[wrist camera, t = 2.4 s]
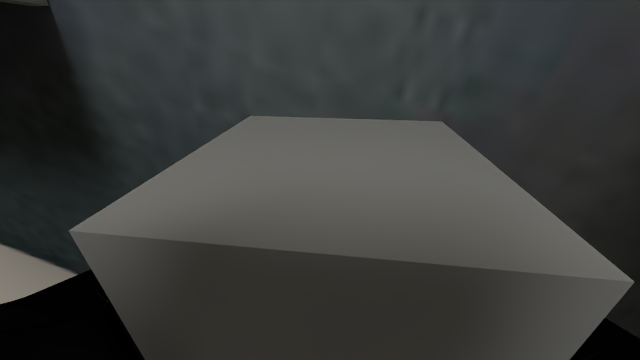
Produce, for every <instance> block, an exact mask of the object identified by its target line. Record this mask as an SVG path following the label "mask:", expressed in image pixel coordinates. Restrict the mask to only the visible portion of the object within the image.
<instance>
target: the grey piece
mask: <svg viewBox="0 0 640 360" xmlns="http://www.w3.org/2000/svg"><path fill="white" fill-rule="evenodd" d="M0 2H6V3H14V4H21V5H29V6H49V4H48V2H47V0H0Z"/></svg>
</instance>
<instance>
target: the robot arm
mask: <svg viewBox="0 0 640 360" xmlns="http://www.w3.org/2000/svg"><path fill="white" fill-rule="evenodd" d="M0 360H145V359H144V357H143V356H142V354H141V352H140V350H139V349H138V347H137V345H136V344H135V342H134V340H133V339H132V337H131V335H130V334H129V332H128V330H127V329H126V327H125V325H124V323H123V322H122V320H121V318H120V317H119V315H118V313H117V312H116V310H115V308H114V307H113V305H112V303H111V301H110V300H109V298H108V296H107V295H106V293H105V291H104V290H103V288H102V286H101V285H100V283H99V281H98V280H97V278H96V276H95V274H94V273H93V271H92V269H91V270H88V271H86V272H84V273H81V274H79V275H76V276H74V277H72V278H69V279H67V280H65V281H63V282H60V283H58V284H55V285H53V286H51V287H48V288H46V289H44V290H41V291H39V292H36V293H34V294H32V295H29V296H27V297H24V298H21V299H18V300H14V301H11V302H7V303H3V304H0ZM570 360H640V339H639V338H638V337H636V336H634V335H633V334H631V333H629V332H628V331H626V330H624V329H623V328H621V327H619V326H618V325H616V324H614V323H613V322H611V321H609V320H608V319H606V318H604V319H603V320H602V322H601V323H600V324H599V325H598V326H597V328H596V329H595V330H594V331H593V332H592V333H591V335H590V336H589V337H588V338H587V339H586V341H585V342H584V343H583V344H582V345H581V347H580V348H579V349H578V350H577V351H576V353H575V354H574V355H573V356H572V357H571V358H570Z"/></svg>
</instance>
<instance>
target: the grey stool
mask: <svg viewBox="0 0 640 360" xmlns="http://www.w3.org/2000/svg"><path fill="white" fill-rule="evenodd" d="M69 232H70V234H71V236H72V237H73V239H74V241H75V242H76V244H77V246H78V247H79V249H80V251H81V253H82V254H83V256H84V258H85V259H86V261H87V263H88V264H89V266H90V268H91V269H92V271H93V273H94V274H95V276H96V278H97V280H98V281H99V283H100V285H101V286H102V288H103V290H104V291H105V293H106V295H107V296H108V298H109V300H110V301H111V303H112V305H113V307H114V308H115V310H116V312H117V313H118V315H119V317H120V318H121V320H122V322H123V323H124V325H125V327H126V329H127V330H128V332H129V334H130V335H131V337H132V339H133V340H134V342H135V344H136V345H137V347H138V349H139V350H140V352H141V354H142V356H143V357H144V359H145V360H570V358H571V357H572V356H573V355H574V354H575V353H576V351H577V350H578V349H579V348H580V347H581V345H582V344H583V343H584V342H585V341H586V339H587V338H588V337H589V336H590V335H591V333H592V332H593V331H594V330H595V329H596V328H597V326H598V325H599V324H600V323H601V322H602V320H603V319H604V318H605V317H606V316H607V314H608V313H609V312H610V311H611V310H612V308H613V307H614V306H615V305H616V304H617V302H618V301H619V300H620V299H621V298H622V297H623V295H624V294H625V293H626V292H627V291H628V289H629V288H630V287H631V286H632V285H633V283H634V281H633V280H632V279H631V278H629V277H628V276H627V275H626V274H624V273H623V272H622V271H621V270H620V269H618V268H617V267H616V266H615V265H614V264H612V263H611V262H610V261H609V260H608V259H606V258H605V257H604V256H603V255H602V254H600V253H599V252H598V251H597V250H596V249H594V248H593V247H592V246H591V245H590V244H588V243H587V242H586V241H585V240H584V239H582V238H581V237H580V236H579V235H578V234H576V233H575V232H574V231H573V230H572V229H570V228H569V227H568V226H567V225H566V224H564V223H563V222H562V221H561V220H560V219H558V218H557V217H556V216H555V215H554V214H552V213H551V212H550V211H549V210H548V209H546V208H545V207H544V206H543V205H542V204H540V203H539V202H538V201H537V200H536V199H534V198H533V197H532V196H531V195H530V194H528V193H527V192H526V191H525V190H524V189H522V188H521V187H520V186H519V185H517V184H516V183H515V182H514V181H513V180H511V179H510V178H509V177H508V176H507V175H505V174H504V173H503V172H502V171H501V170H499V169H498V168H497V167H496V166H495V165H493V164H492V163H491V162H490V161H489V160H487V159H486V158H485V157H484V156H483V155H481V154H480V153H479V152H478V151H477V150H475V149H474V148H473V147H472V146H471V145H469V144H468V143H467V142H466V141H465V140H463V139H462V138H461V137H460V136H459V135H457V134H456V133H455V132H454V131H453V130H451V129H450V128H449V127H448V126H447V125H445V124H444V123H443V122H442V121H409V120H375V119H341V118H307V117H273V116H250V117H248V118H246V119H245V120H243V121H242V122H240V123H238V124H237V125H235V126H234V127H232V128H231V129H229V130H227V131H226V132H224V133H223V134H221V135H219V136H218V137H216V138H215V139H213V140H212V141H210V142H208V143H207V144H205V145H204V146H202V147H201V148H199V149H197V150H196V151H194V152H193V153H191V154H189V155H188V156H186V157H185V158H183V159H182V160H180V161H178V162H177V163H175V164H174V165H172V166H170V167H169V168H167V169H166V170H164V171H163V172H161V173H159V174H158V175H156V176H155V177H153V178H151V179H150V180H148V181H147V182H145V183H144V184H142V185H140V186H139V187H137V188H136V189H134V190H132V191H131V192H129V193H128V194H126V195H125V196H123V197H121V198H120V199H118V200H117V201H115V202H113V203H112V204H110V205H109V206H107V207H106V208H104V209H102V210H101V211H99V212H98V213H96V214H94V215H93V216H91V217H90V218H88V219H87V220H85V221H83V222H82V223H80V224H79V225H77V226H75V227H74V228H72V229H71V230H69Z"/></svg>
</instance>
